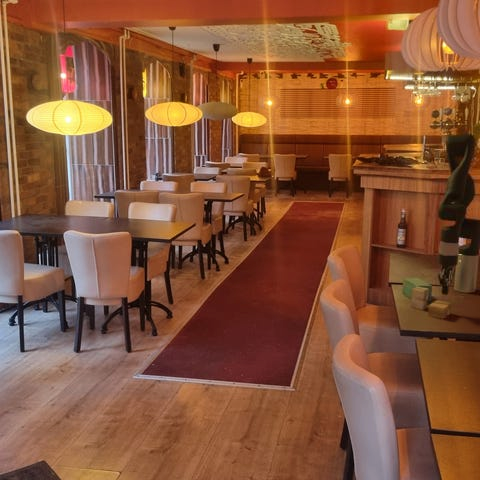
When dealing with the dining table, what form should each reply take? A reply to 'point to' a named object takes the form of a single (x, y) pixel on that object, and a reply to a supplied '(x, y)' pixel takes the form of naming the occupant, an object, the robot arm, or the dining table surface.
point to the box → (415, 282)
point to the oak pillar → (439, 309)
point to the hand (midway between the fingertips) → (444, 294)
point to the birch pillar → (419, 298)
